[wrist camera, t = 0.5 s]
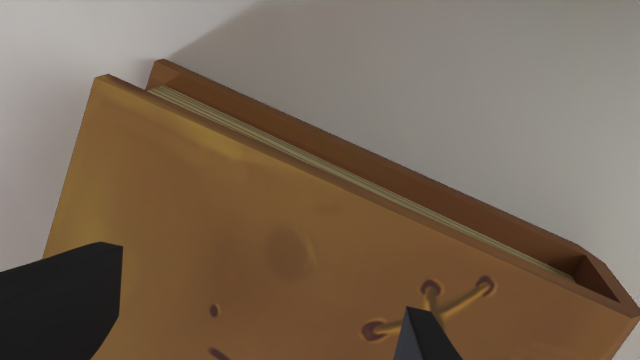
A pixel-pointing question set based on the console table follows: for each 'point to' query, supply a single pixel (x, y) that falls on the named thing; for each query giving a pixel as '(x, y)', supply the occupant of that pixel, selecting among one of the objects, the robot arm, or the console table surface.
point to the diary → (307, 241)
